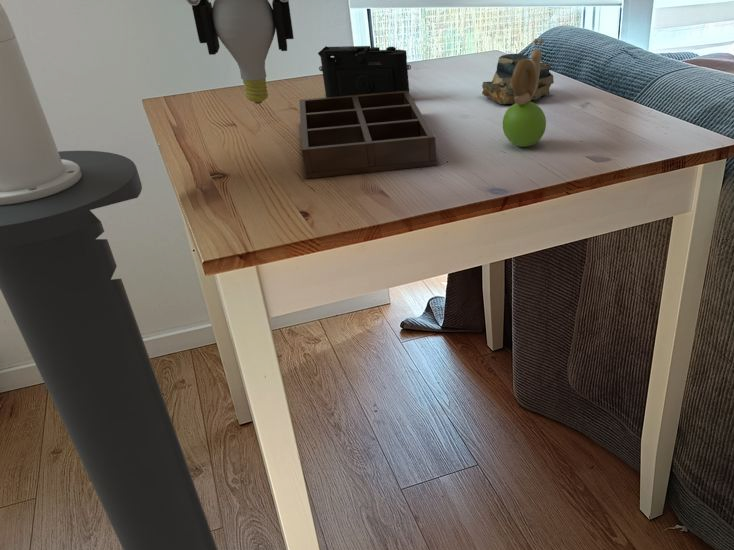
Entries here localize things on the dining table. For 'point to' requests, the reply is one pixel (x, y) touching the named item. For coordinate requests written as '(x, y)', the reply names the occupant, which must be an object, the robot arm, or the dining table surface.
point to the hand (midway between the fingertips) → (248, 47)
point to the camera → (363, 70)
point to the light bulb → (247, 39)
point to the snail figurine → (525, 103)
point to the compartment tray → (364, 134)
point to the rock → (502, 80)
